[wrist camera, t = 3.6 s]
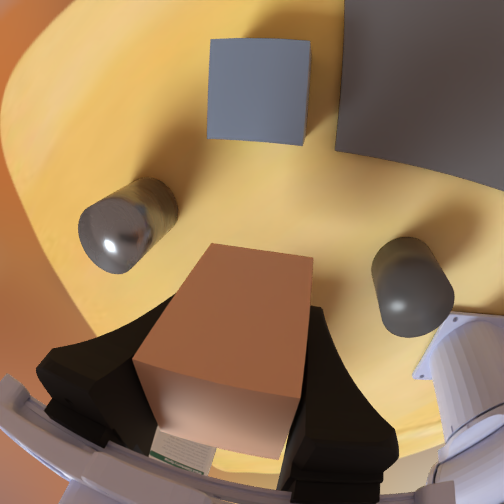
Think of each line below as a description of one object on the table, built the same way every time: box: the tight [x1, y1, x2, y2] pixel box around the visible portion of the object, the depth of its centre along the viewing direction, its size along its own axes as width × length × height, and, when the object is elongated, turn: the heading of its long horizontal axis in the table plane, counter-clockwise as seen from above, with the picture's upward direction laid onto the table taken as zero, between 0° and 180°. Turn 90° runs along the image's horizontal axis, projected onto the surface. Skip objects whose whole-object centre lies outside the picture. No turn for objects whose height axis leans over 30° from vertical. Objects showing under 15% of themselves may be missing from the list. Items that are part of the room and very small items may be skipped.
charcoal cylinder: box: [371, 237, 454, 338], centre depth 17 cm, size 5×5×4 cm
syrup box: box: [149, 426, 216, 476], centre depth 23 cm, size 6×6×14 cm
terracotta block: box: [132, 243, 313, 460], centre depth 11 cm, size 4×4×7 cm
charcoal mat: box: [335, 0, 504, 191], centre depth 11 cm, size 14×14×1 cm
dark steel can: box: [78, 177, 178, 274], centre depth 18 cm, size 4×4×6 cm
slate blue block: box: [207, 38, 312, 146], centre depth 14 cm, size 4×5×4 cm
